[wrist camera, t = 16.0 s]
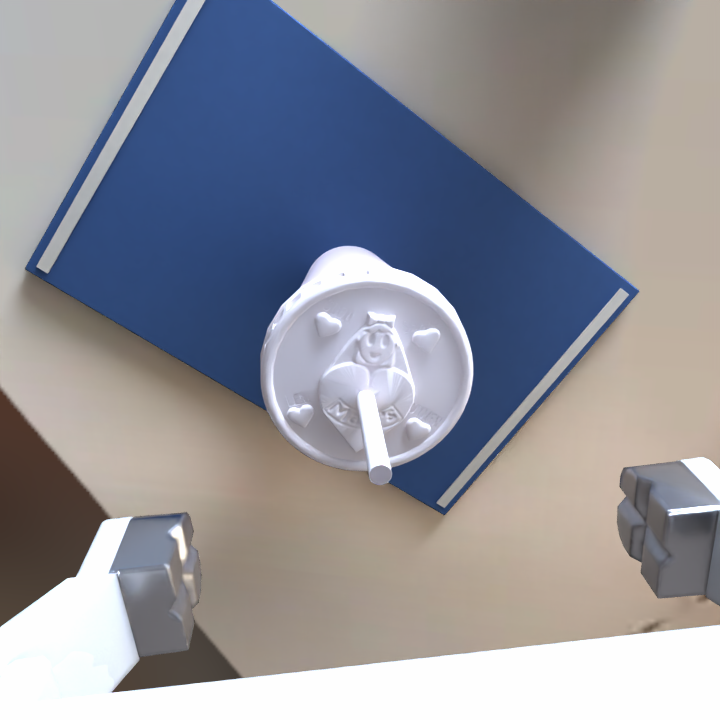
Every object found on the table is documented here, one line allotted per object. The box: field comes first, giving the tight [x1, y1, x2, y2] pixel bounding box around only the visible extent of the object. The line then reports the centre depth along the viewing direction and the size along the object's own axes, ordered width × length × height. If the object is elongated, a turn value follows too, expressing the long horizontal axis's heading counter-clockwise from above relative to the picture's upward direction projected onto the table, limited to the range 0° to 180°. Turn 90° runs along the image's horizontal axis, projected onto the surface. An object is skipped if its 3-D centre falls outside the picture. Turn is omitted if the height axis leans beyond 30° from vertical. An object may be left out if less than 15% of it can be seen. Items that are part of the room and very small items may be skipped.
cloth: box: [25, 0, 639, 515], centre depth 29 cm, size 14×22×1 cm, turn 54°
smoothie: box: [260, 246, 473, 485], centre depth 22 cm, size 6×6×14 cm
